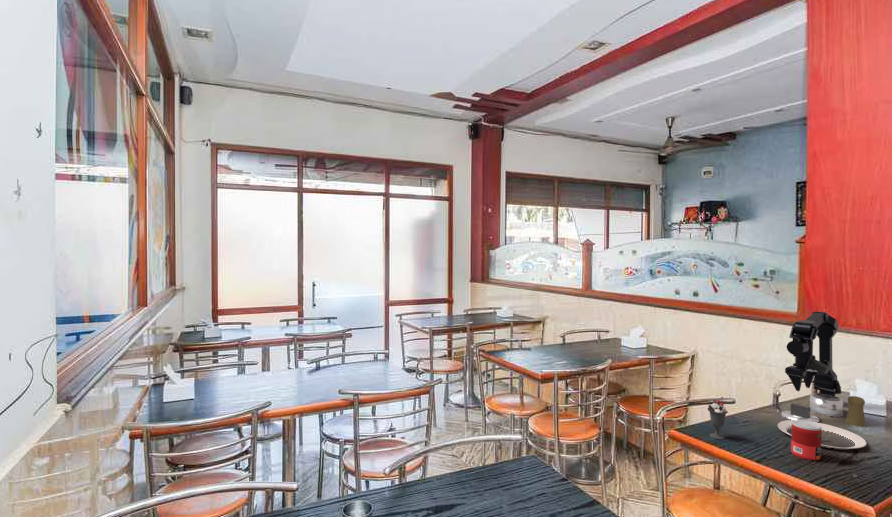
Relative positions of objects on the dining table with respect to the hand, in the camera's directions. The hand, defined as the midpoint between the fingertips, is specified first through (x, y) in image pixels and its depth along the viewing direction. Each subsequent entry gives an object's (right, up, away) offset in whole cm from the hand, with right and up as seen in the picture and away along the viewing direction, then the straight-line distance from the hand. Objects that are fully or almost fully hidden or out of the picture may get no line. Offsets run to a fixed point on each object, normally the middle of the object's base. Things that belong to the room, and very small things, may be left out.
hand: (802, 389), depth 189 cm
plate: (-9, -13, -19) cm, 25 cm away
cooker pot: (+16, -12, +7) cm, 21 cm away
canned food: (-27, -13, -35) cm, 46 cm away
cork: (+17, -13, -6) cm, 22 cm away
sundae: (-48, -12, -20) cm, 53 cm away
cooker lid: (0, -13, +1) cm, 13 cm away
